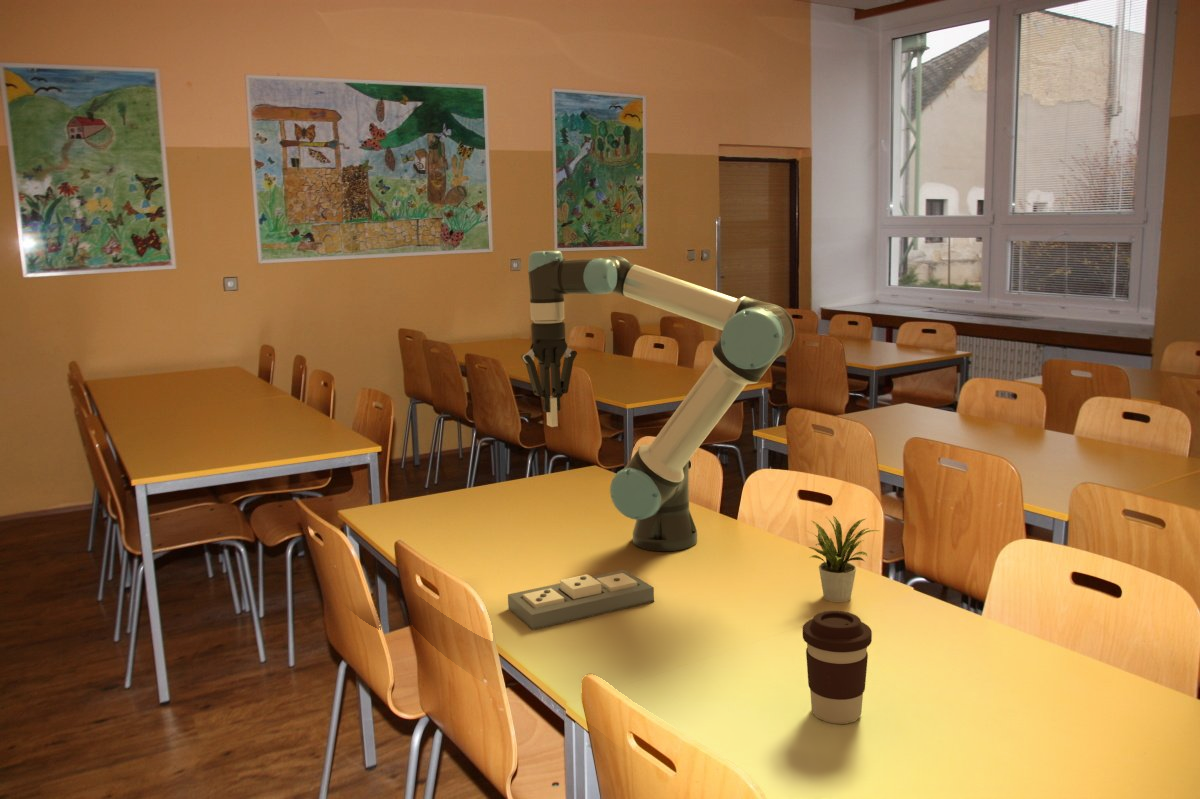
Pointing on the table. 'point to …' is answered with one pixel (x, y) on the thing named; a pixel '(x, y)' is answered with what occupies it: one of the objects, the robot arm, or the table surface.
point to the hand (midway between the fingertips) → (552, 425)
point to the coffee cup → (836, 664)
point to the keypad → (580, 603)
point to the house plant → (838, 561)
